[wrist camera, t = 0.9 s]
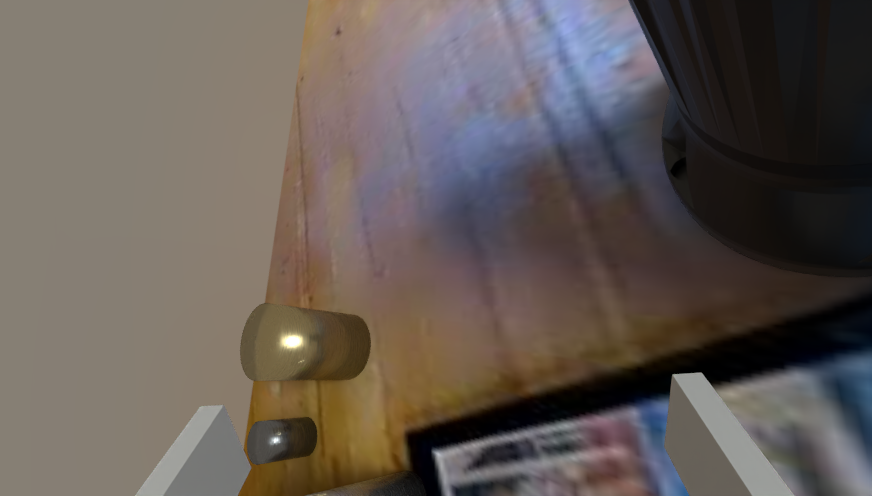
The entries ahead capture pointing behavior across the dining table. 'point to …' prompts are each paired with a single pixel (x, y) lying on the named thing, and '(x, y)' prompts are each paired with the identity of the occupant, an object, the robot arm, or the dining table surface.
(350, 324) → the fat brass roller
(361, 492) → the steel roller
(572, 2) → the dining table surface
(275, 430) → the short dark roller
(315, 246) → the dining table surface
